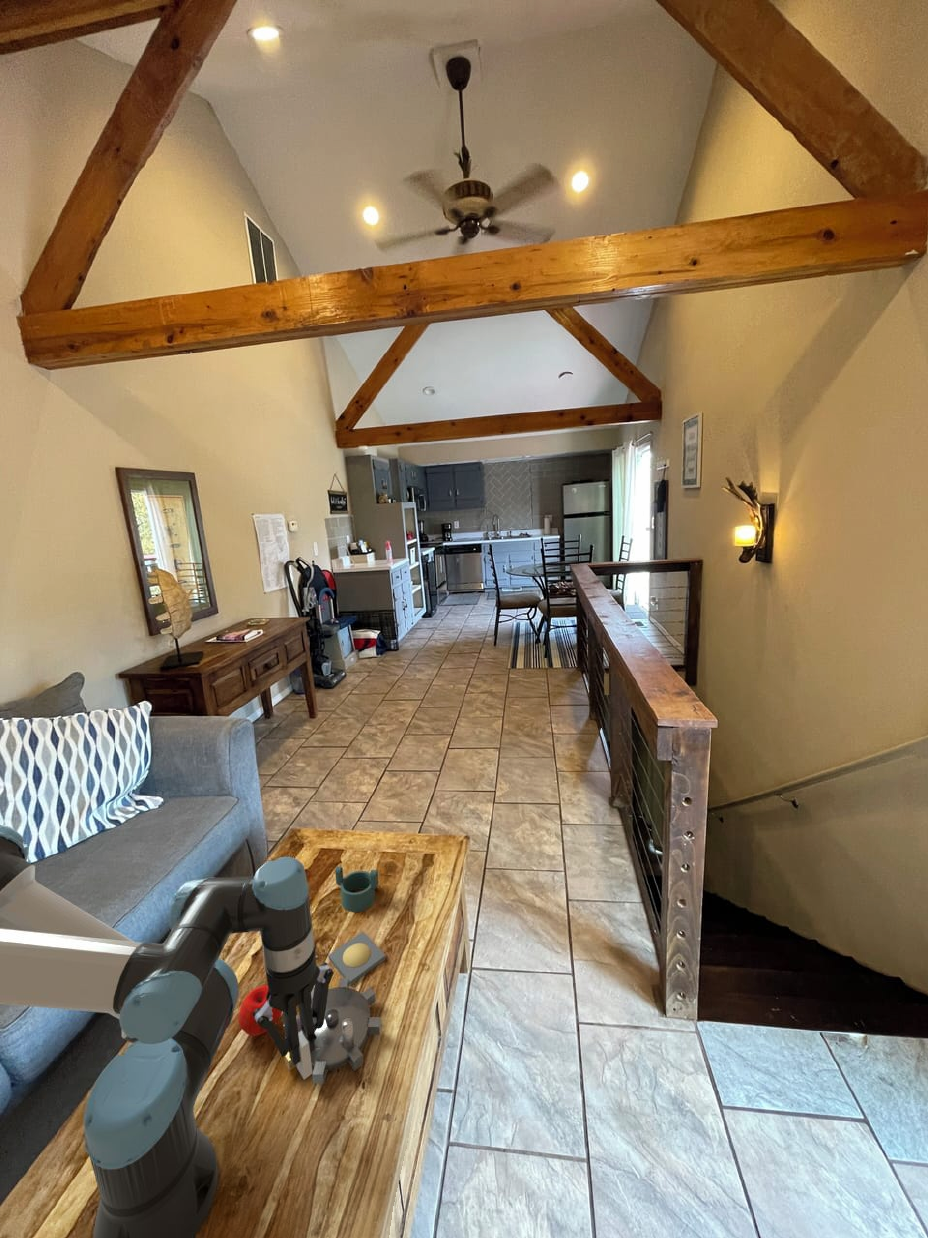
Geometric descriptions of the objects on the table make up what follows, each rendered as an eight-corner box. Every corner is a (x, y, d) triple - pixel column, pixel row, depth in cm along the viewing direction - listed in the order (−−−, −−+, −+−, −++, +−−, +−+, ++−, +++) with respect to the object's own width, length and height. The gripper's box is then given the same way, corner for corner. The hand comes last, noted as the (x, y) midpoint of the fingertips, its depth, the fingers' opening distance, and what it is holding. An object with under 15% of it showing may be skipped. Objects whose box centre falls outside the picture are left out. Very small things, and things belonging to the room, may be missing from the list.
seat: (350, 985, 105) (349, 981, 105) (328, 959, 111) (328, 954, 111) (385, 959, 111) (385, 955, 111) (363, 935, 117) (363, 931, 117)
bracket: (381, 903, 127) (379, 872, 125) (346, 918, 122) (343, 886, 121) (369, 881, 135) (367, 851, 133) (335, 895, 130) (332, 864, 128)
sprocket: (311, 1109, 83) (307, 1076, 81) (266, 1029, 96) (262, 1000, 94) (400, 1030, 95) (398, 1000, 93) (349, 969, 108) (347, 942, 106)
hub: (327, 1058, 91) (325, 1038, 90) (311, 1034, 96) (309, 1015, 95) (355, 1034, 95) (354, 1015, 94) (339, 1012, 100) (337, 994, 99)
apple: (259, 1056, 92) (254, 1024, 90) (231, 1035, 96) (226, 1003, 94) (293, 1018, 99) (289, 987, 97) (266, 999, 103) (262, 969, 101)
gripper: (258, 998, 73) (276, 1121, 78) (338, 943, 81) (350, 1058, 86) (239, 965, 78) (257, 1083, 83) (316, 917, 87) (328, 1026, 92)
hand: (304, 1070), depth 85 cm, fingers closed
